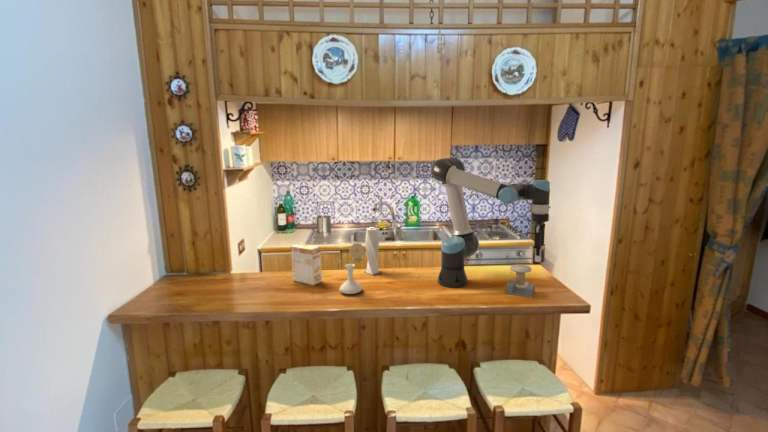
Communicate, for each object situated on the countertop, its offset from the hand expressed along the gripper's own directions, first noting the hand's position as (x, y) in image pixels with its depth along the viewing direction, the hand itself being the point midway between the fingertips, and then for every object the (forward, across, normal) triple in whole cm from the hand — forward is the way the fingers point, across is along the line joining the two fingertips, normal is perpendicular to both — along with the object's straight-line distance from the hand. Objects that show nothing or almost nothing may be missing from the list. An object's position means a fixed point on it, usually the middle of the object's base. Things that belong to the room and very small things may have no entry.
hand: (538, 260), depth 199 cm
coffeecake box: (+13, -44, +110) cm, 119 cm away
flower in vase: (+14, -44, +80) cm, 92 cm away
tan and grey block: (0, 0, 0) cm, 0 cm away
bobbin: (+15, +3, +9) cm, 18 cm away
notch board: (+15, -7, +7) cm, 18 cm away
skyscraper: (+14, -16, +86) cm, 88 cm away
